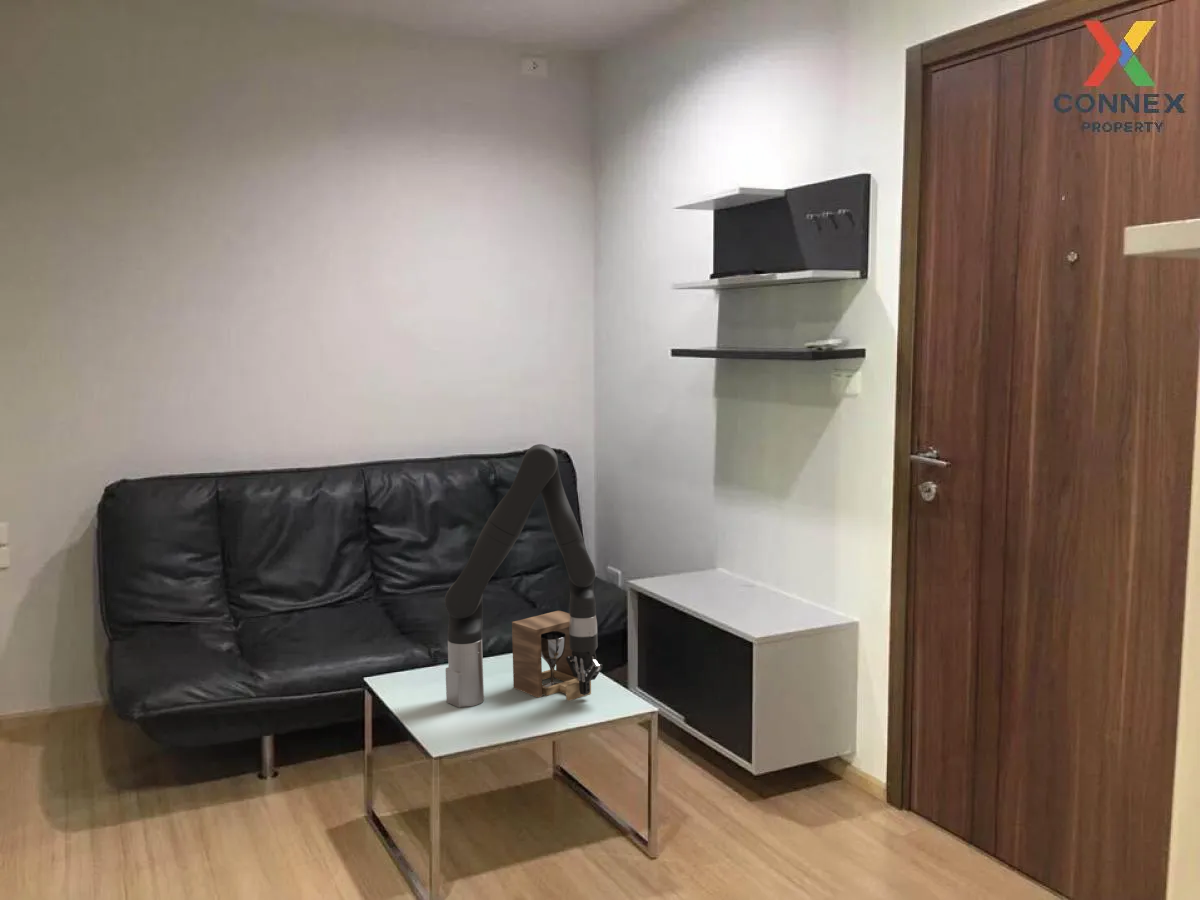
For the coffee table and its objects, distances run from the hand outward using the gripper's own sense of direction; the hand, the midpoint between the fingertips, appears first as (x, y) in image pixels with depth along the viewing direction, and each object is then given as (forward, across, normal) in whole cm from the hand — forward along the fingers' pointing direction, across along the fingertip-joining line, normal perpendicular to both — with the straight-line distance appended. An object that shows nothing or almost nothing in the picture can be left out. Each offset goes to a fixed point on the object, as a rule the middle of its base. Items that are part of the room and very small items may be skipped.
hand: (584, 693), depth 277 cm
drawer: (+1, -12, 0) cm, 12 cm away
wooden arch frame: (+1, -15, 0) cm, 15 cm away
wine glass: (+2, -14, 0) cm, 14 cm away
